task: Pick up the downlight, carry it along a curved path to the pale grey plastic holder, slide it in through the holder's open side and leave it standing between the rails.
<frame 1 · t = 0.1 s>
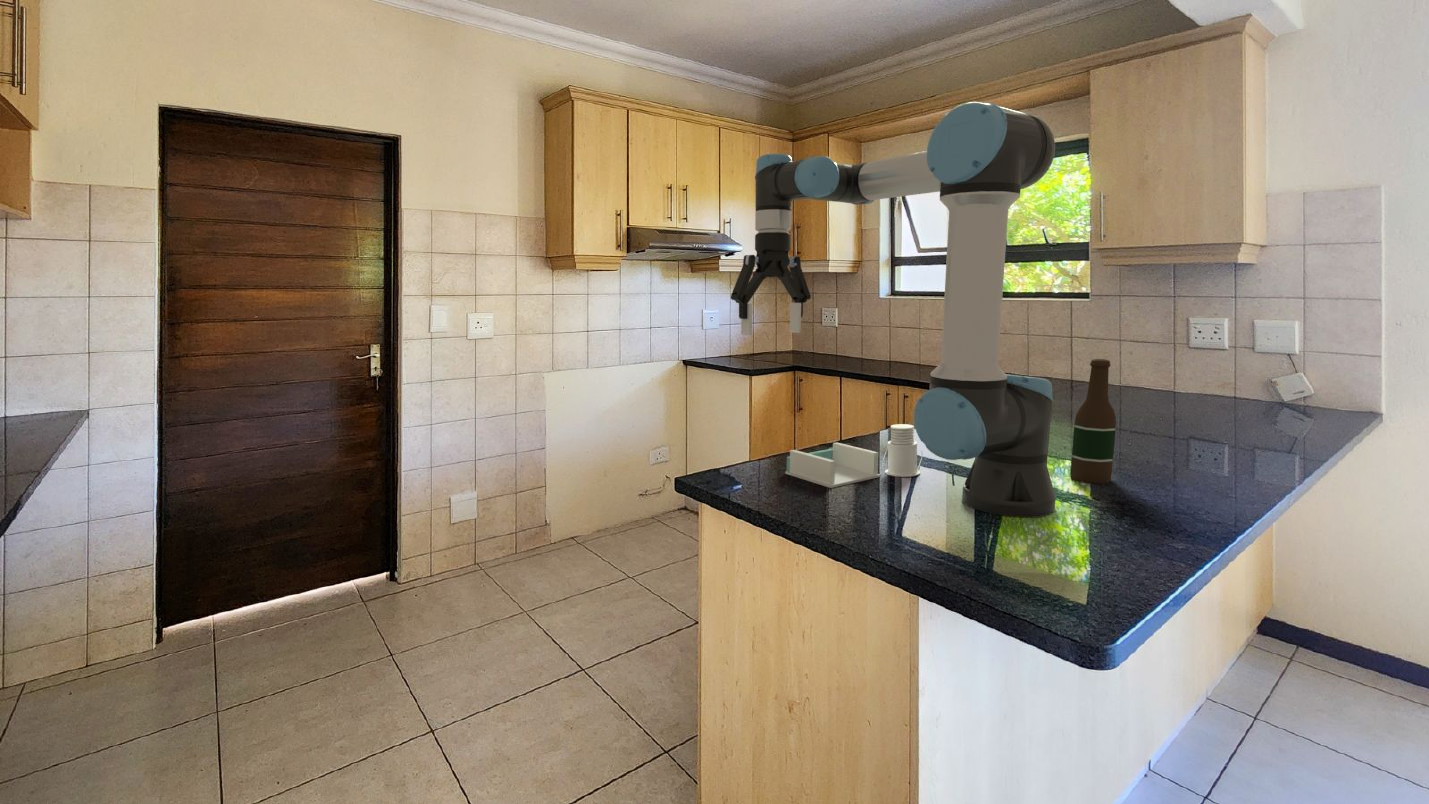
hand: (771, 333, 152), 28 cm above the worktop, tool pointing down, fingers open, 13 cm apart
holder: (832, 475, 144), on the worktop
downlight: (901, 474, 146), on the worktop
beer bottle: (1089, 480, 141), on the worktop
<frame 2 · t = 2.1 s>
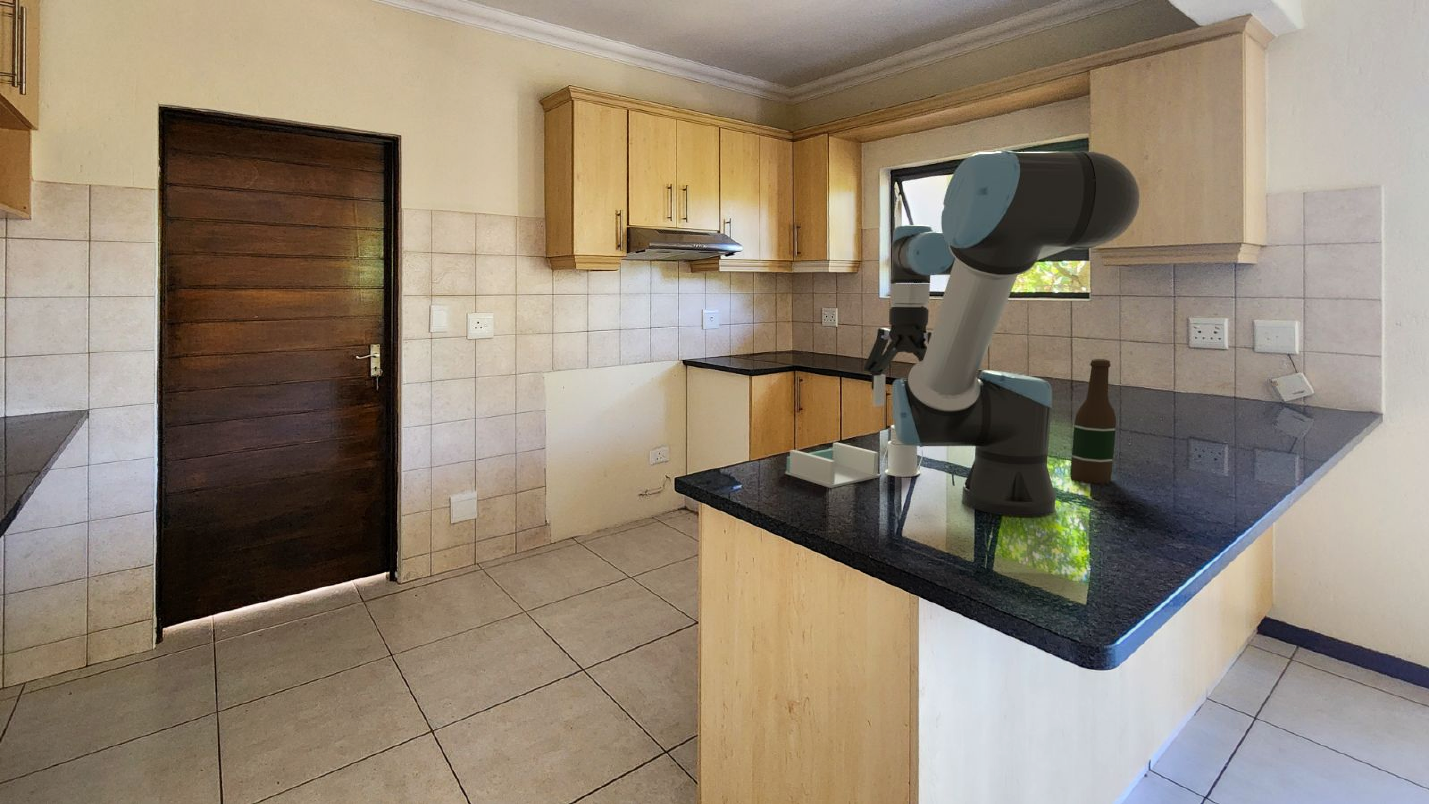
hand: (904, 410, 144), 13 cm above the worktop, tool pointing down, fingers open, 13 cm apart
nothing on the worktop moved.
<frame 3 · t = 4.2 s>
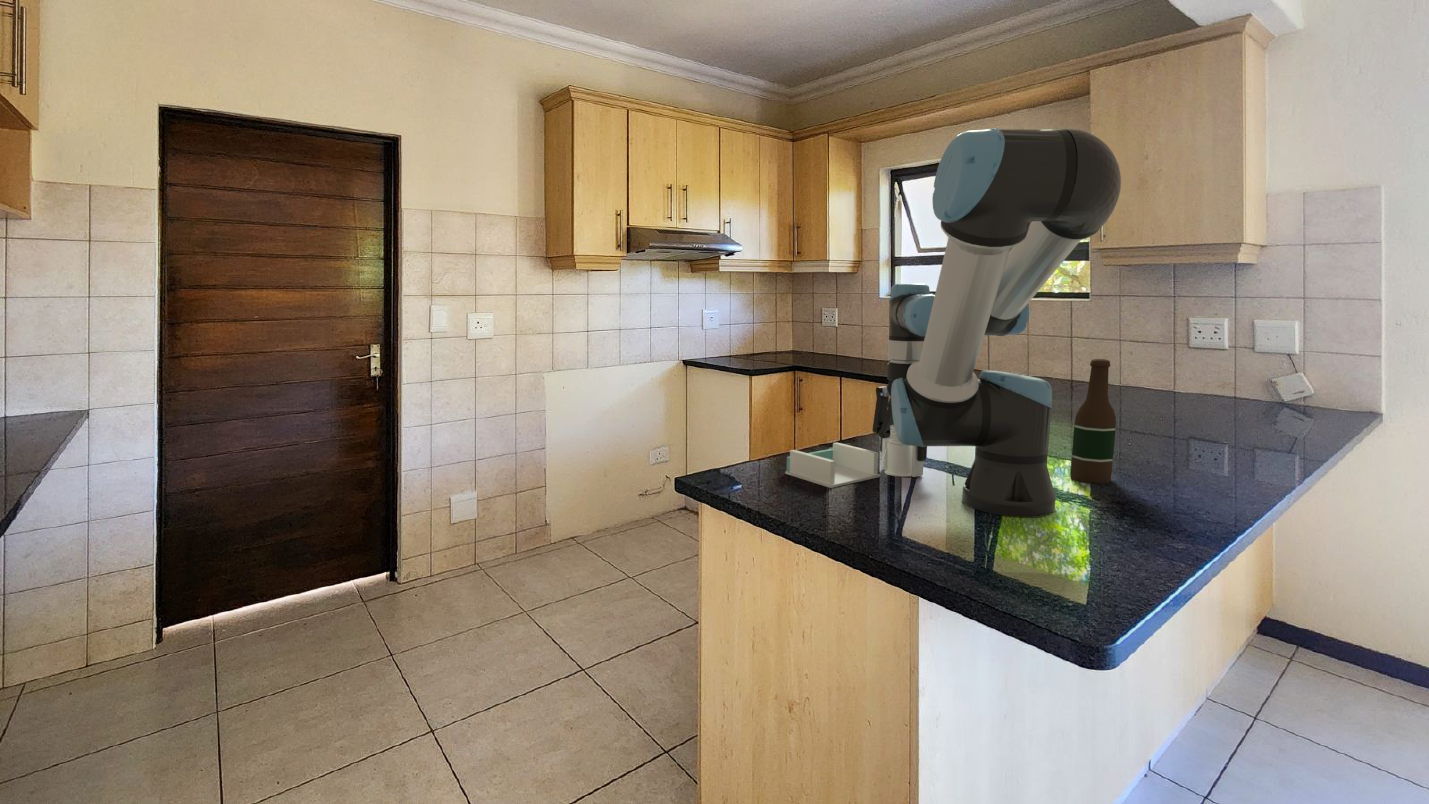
hand: (901, 471, 146), 0 cm above the worktop, tool pointing down, fingers open, 7 cm apart
nothing on the worktop moved.
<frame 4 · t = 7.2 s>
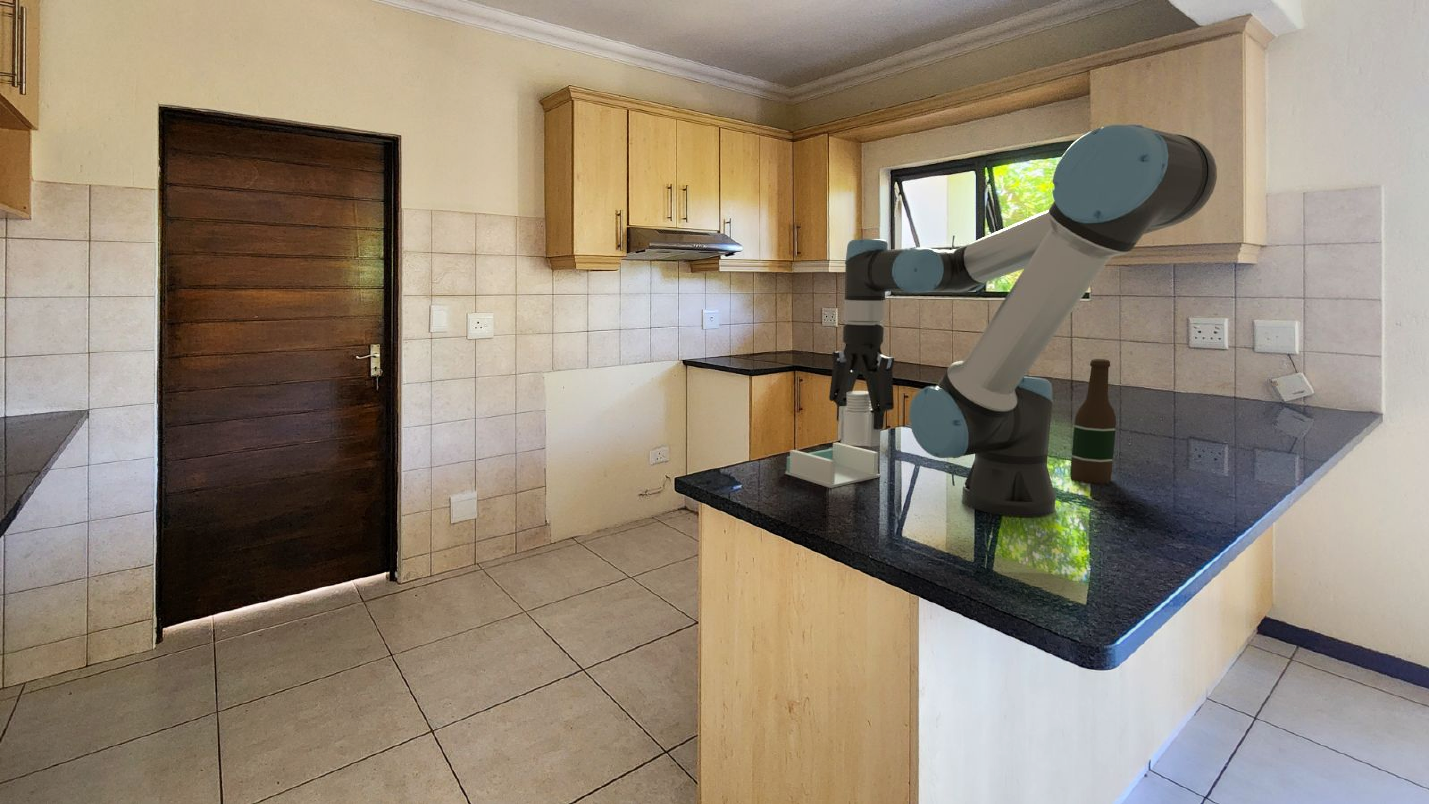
hand: (858, 441, 137), 8 cm above the worktop, tool pointing down, fingers closed on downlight, 7 cm apart
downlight: (858, 443, 137), point 8 cm above the worktop, touching gripper
everything else where it was.
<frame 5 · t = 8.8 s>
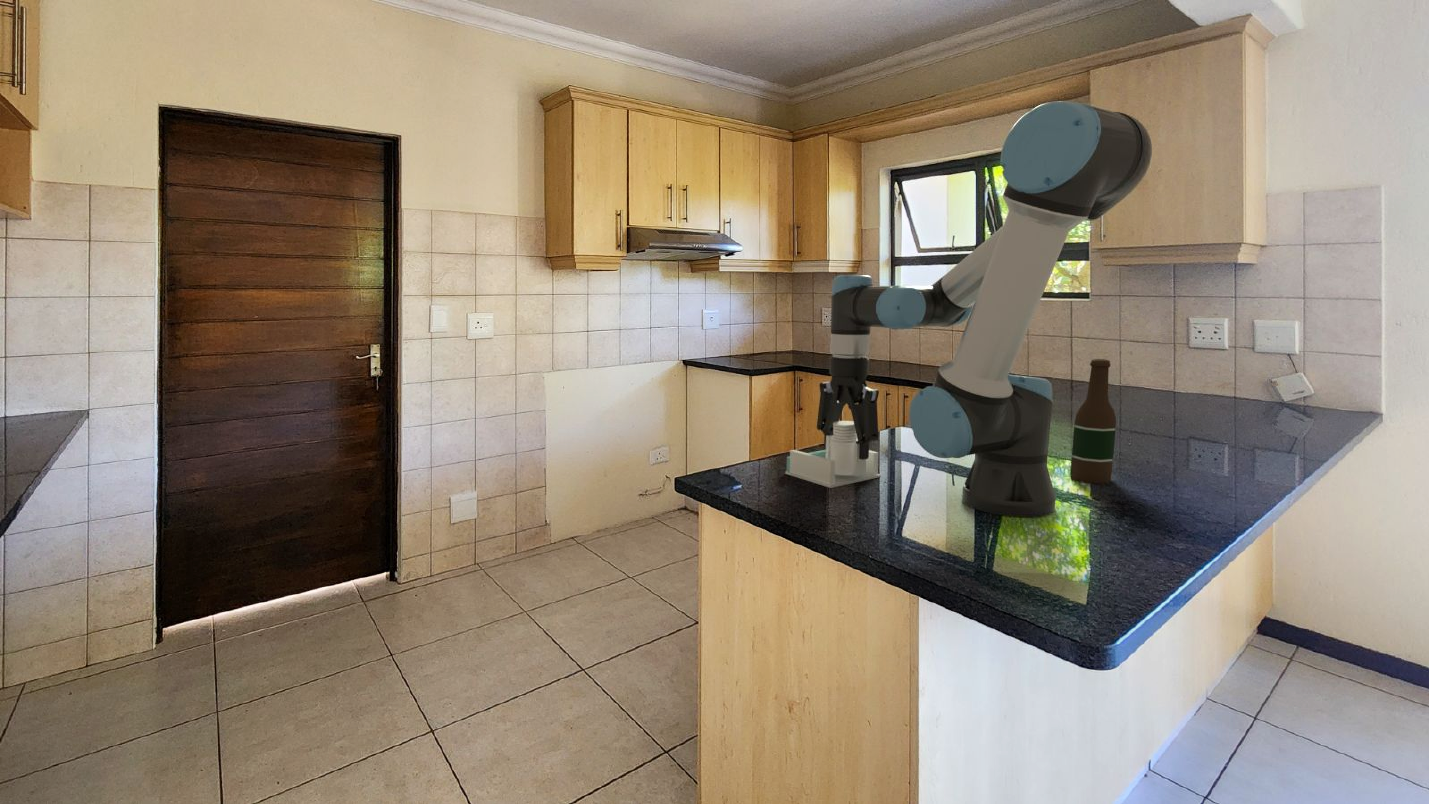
hand: (845, 470, 141), 2 cm above the worktop, tool pointing down, fingers closed on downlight, 7 cm apart
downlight: (844, 472, 141), point 1 cm above the worktop, touching gripper
everything else where it was.
when the fingers open (1 cm above the worktop, at t = 10.0 s): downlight stays where it is, resting on holder.
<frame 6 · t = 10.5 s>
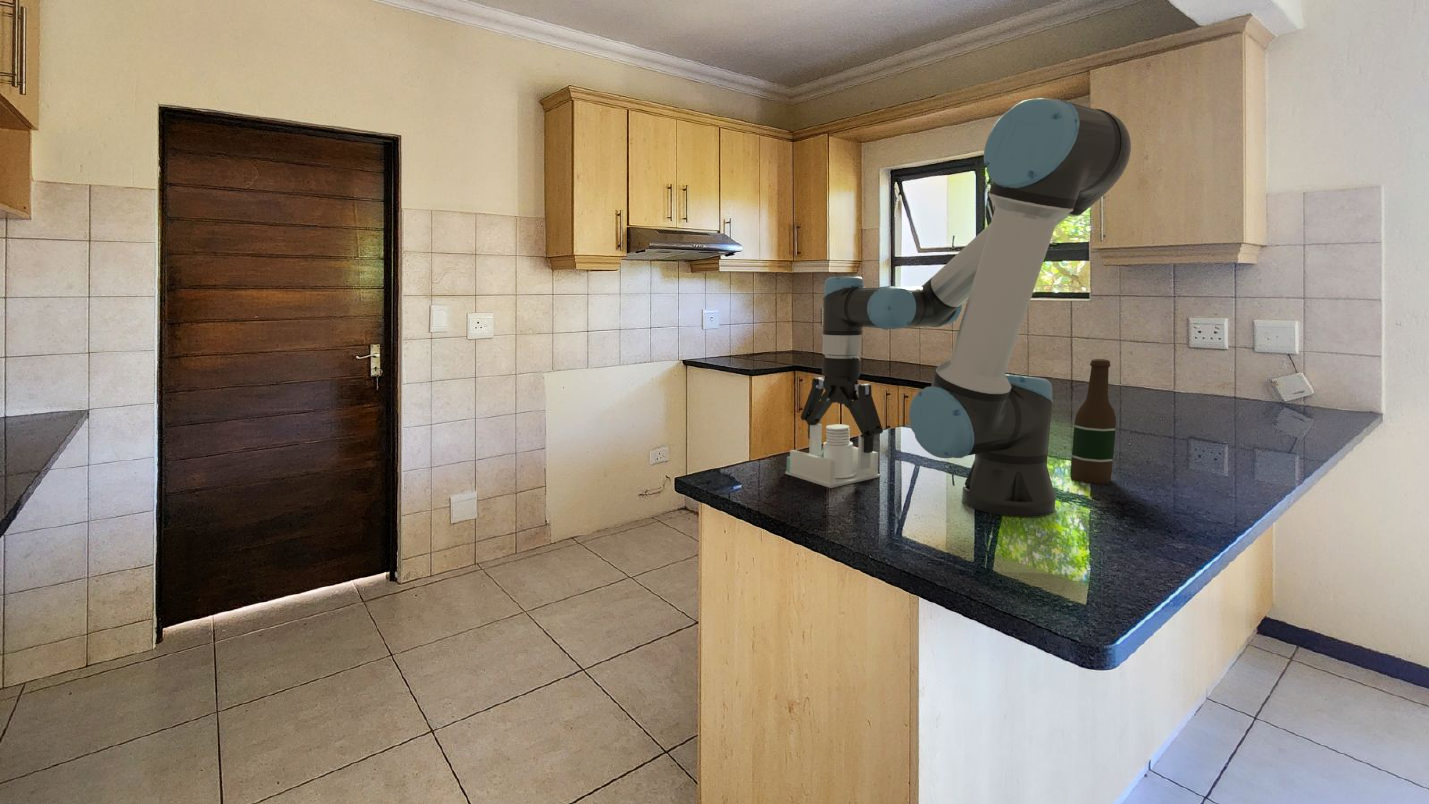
hand: (838, 461, 142), 3 cm above the worktop, tool pointing down, fingers open, 13 cm apart
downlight: (837, 475, 142), resting on holder
everything else where it was.
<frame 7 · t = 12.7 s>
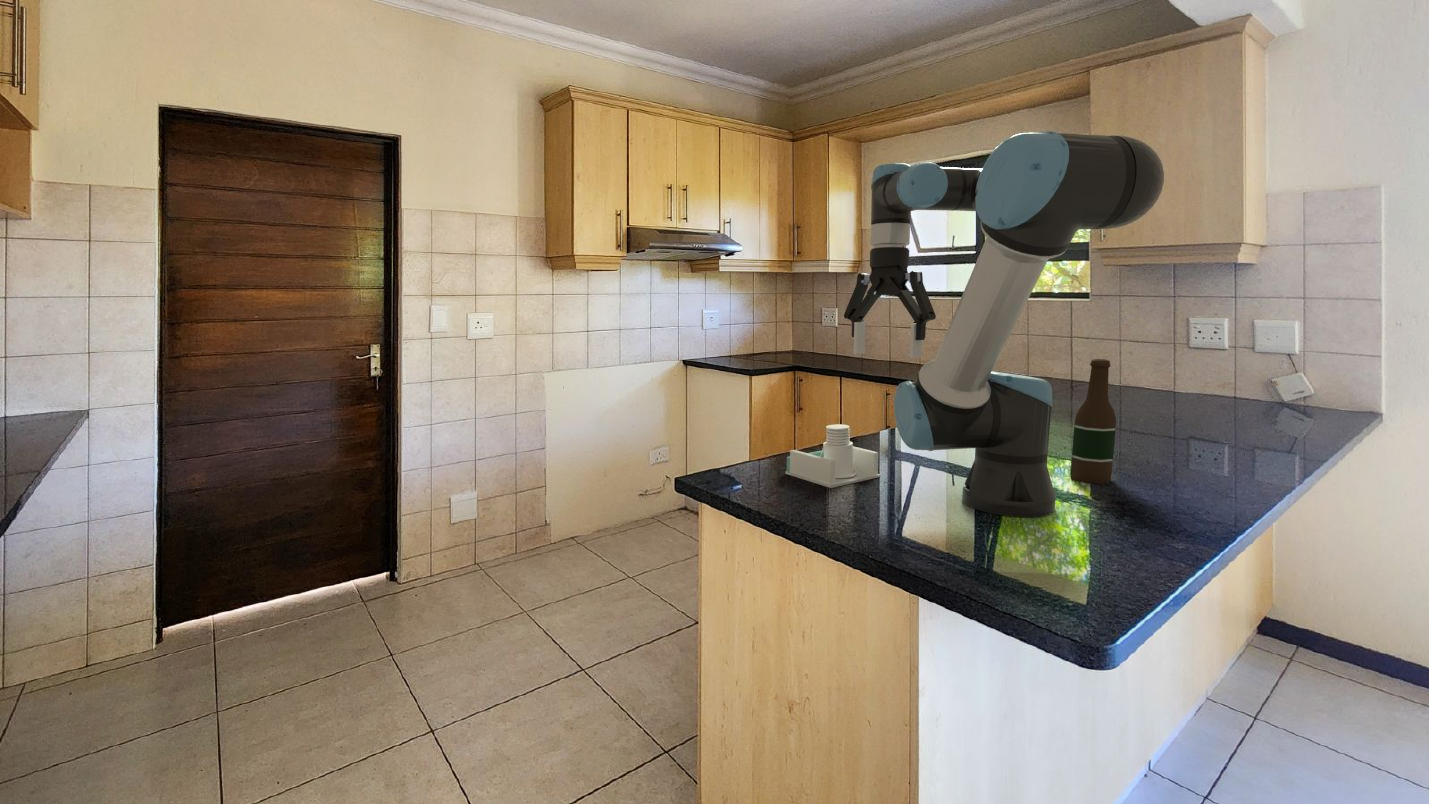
hand: (886, 355, 141), 24 cm above the worktop, tool pointing down, fingers open, 13 cm apart
nothing on the worktop moved.
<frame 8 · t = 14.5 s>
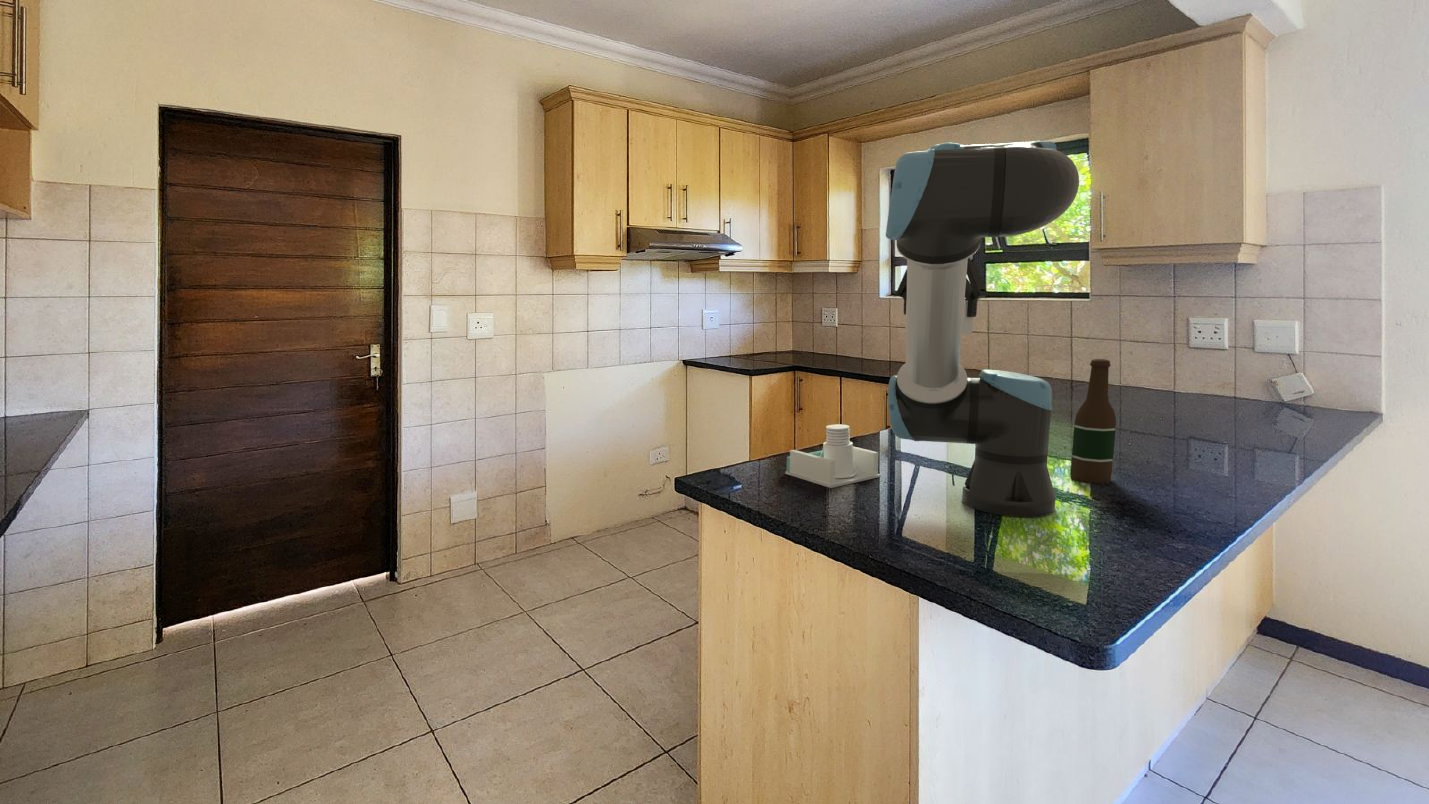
hand: (937, 332, 145), 29 cm above the worktop, tool pointing down, fingers open, 13 cm apart
nothing on the worktop moved.
at the end: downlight inside the target area on the holder (1.0 cm from its centre), point 0.3 cm above the holder's base; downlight tilted 0°; the gripper is holding nothing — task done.
